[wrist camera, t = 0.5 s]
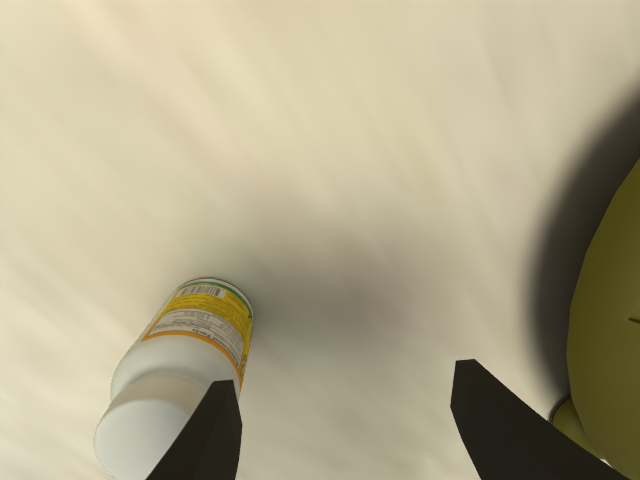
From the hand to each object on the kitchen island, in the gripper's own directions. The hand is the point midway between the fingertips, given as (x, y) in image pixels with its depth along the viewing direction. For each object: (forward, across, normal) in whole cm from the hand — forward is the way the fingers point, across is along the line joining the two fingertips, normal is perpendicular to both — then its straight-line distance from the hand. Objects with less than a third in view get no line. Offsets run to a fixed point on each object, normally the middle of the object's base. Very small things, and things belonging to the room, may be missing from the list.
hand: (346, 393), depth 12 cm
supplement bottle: (+10, +7, +4) cm, 13 cm away
